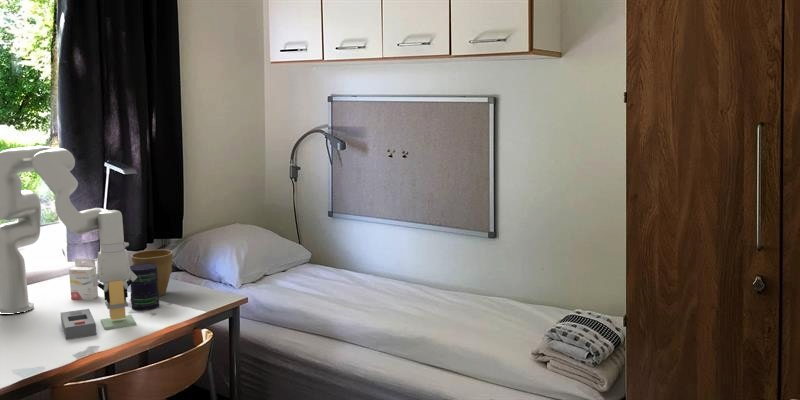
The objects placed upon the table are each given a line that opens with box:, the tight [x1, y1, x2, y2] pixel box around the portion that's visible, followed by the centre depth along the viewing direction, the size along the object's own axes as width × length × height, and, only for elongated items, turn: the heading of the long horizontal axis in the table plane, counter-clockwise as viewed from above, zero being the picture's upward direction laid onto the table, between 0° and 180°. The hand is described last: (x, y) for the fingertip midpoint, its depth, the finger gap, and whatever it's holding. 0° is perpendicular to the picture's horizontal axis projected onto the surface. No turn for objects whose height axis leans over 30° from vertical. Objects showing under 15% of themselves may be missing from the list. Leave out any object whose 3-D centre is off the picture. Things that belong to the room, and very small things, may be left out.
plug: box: [104, 280, 129, 320], centre depth 263 cm, size 6×6×13 cm
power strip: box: [60, 308, 97, 340], centre depth 258 cm, size 18×9×5 cm, turn 28°
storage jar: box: [130, 263, 161, 312], centre depth 281 cm, size 10×10×15 cm
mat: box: [100, 314, 137, 331], centre depth 264 cm, size 10×10×1 cm
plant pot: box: [130, 249, 174, 297], centre depth 297 cm, size 15×15×16 cm
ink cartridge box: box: [68, 258, 99, 301], centre depth 294 cm, size 9×5×15 cm, turn 84°
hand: (116, 300), depth 263 cm, fingers closed on plug, 4 cm apart
